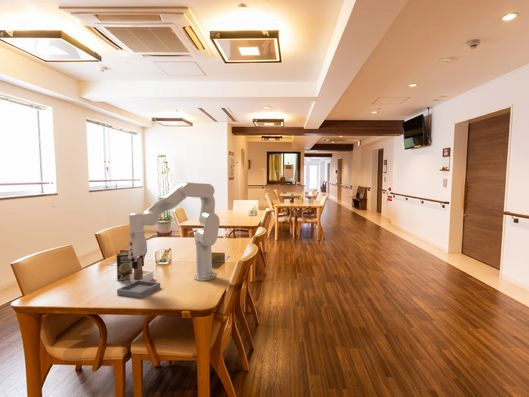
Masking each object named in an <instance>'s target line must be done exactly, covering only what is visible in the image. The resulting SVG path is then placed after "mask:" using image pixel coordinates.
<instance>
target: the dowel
mask: <svg viewBox="0 0 529 397" xmlns="http://www.w3.org/2000/svg"><path fill="white" fill-rule="evenodd" d="M134 259H135V257H134ZM136 262H137V267H138V268H137V269H133V273H134V280H141V279H143V271H142V270H143V266H142V257H139V256H138V257H137V261H136Z"/></svg>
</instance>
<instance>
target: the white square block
mask: <svg viewBox="0 0 529 397" xmlns="http://www.w3.org/2000/svg"><path fill="white" fill-rule="evenodd" d="M142 271H143V279H141V280H142V281H150V282H151V281H152V280H154V271H153V270H146V269H142ZM134 281H137V280H134V272H133V273H132V274H130V279H129V283H132V282H134Z"/></svg>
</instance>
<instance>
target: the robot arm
mask: <svg viewBox="0 0 529 397" xmlns="http://www.w3.org/2000/svg"><path fill="white" fill-rule="evenodd" d="M214 195H215V187H214V186H213V185H212V184H210V183H198V182H187V181H186V182H182V183H180V184H179V185H177V186H176V187H175V188H173V189H172V190H171V191H170V192H169V193H168V194H167V195H165V196H164V197H162V198H160V199H159V200H158V201H156V202H154V203H153V204H152V205H151V206H150V207H148V208H147V209H146V210H145V211H143V213H142V212H132V213H130V214H129V217H128V220H129V221H128V222H129V223H128V224H129V240H128V253H129V255H128V259H130V260H131V262H132V268H133V270H134V269H137V268H138V267H137V262H136V261H137V257H142V267H144V266H145V256H147V253H148V244H147V238H146V236H145V226H156V225H157V224H158V223H159V222H160V215H162V214H163V213H165V212H167V211H170V210H172V209H175V208H176V207H177V206H179V205H180V204H181V203H182V202H183V201H184V200H186V198H188V197H189V198H199V199H200V202H201V207H200V212H199V219H198V222H199V224H200V225H201V226H203V227H201V228H199V229H197V230H196V231H195V233H194V242H195V252H196V253H195V254H196V255H195V256H196V258H195V260H196V262H195V263H196V274H195V275H194V280H196V281H198V282H199V281H201V282H202V281H203V282H205V281H211V280H213V279H214V278H216V277H217V276H218V272H214V270H213V263H212V262H213V261H212V258H213V257H212V256H213V255H212V246H214V245H215V244H216V243H217V240H218V236H219V229H220V223H221V222H220V218H219V216H218V215H217V213H215V208H216V207H215V206H216V199H215V196H214ZM134 258H135V259H134Z"/></svg>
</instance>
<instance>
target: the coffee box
mask: <svg viewBox="0 0 529 397" xmlns="http://www.w3.org/2000/svg"><path fill="white" fill-rule="evenodd" d="M128 255H129V252H120V253H115V256H116V280H117V282H121V281H126V280H127V281H128V280H130V274H132V273H134V269H133V268H132V262H131V260H130V259H128Z"/></svg>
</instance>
